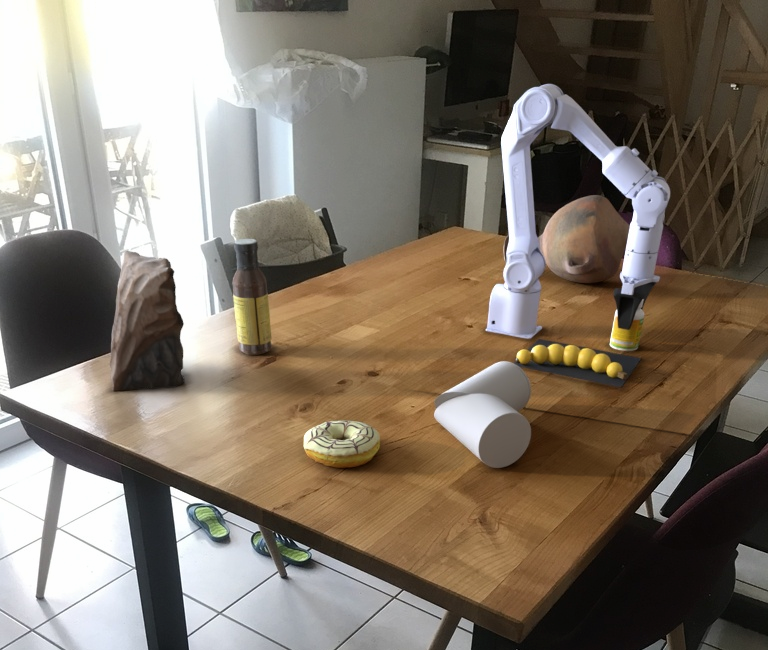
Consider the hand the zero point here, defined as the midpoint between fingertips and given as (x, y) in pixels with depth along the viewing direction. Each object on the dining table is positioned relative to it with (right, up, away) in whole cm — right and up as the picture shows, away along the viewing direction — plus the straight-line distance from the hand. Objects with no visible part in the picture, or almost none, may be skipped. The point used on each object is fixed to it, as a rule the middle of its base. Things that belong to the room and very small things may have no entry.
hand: (628, 322), depth 154 cm
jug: (-3, +21, +43) cm, 48 cm away
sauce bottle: (-71, -6, -3) cm, 71 cm away
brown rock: (-88, -14, -16) cm, 90 cm away
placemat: (-11, -9, -5) cm, 15 cm away
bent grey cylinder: (-31, -25, -31) cm, 50 cm away
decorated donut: (-53, -28, -38) cm, 71 cm away
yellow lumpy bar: (-13, -10, -8) cm, 19 cm away
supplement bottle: (0, -4, +3) cm, 5 cm away
